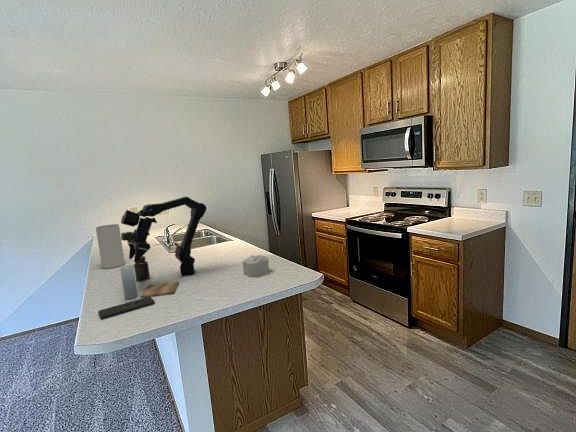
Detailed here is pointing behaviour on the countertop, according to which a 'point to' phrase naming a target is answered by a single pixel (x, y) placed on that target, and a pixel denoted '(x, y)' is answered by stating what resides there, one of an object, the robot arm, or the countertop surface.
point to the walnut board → (160, 289)
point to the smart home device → (125, 307)
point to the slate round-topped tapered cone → (128, 282)
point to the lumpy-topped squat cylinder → (255, 266)
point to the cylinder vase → (110, 246)
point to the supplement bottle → (141, 269)
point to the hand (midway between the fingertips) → (132, 260)
